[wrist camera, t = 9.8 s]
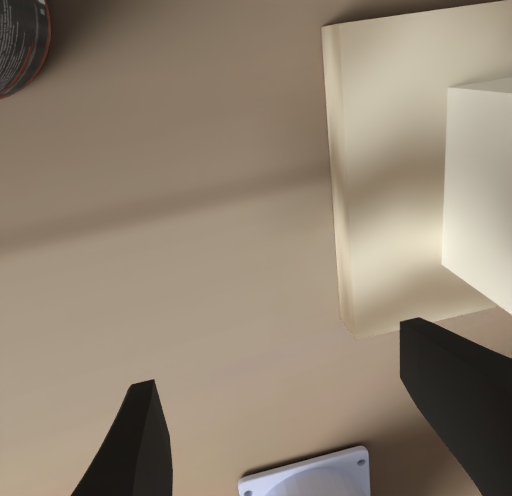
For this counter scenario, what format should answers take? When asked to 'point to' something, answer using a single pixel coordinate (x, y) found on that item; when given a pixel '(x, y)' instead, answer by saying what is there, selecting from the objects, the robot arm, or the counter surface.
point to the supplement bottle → (22, 42)
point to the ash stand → (401, 156)
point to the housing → (479, 188)
